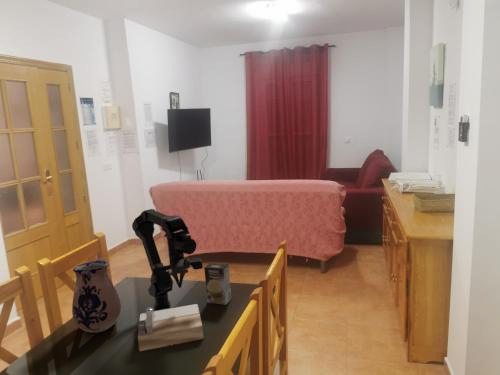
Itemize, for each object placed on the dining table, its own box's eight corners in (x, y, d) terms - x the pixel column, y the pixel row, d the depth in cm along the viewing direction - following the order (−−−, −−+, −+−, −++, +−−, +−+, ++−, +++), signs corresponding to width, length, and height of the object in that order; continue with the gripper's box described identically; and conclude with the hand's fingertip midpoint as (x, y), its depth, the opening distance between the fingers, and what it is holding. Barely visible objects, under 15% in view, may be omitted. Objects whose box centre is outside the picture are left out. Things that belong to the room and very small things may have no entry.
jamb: (141, 325, 149) (140, 313, 148) (198, 315, 154) (197, 303, 153) (140, 336, 141) (139, 323, 140) (200, 325, 146) (199, 312, 145)
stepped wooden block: (140, 337, 141) (138, 315, 139) (200, 325, 145) (198, 304, 144) (139, 351, 131) (136, 328, 130) (203, 338, 136) (201, 316, 135)
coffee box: (206, 303, 164) (203, 267, 161) (212, 296, 170) (209, 262, 167) (226, 305, 161) (223, 268, 158) (232, 298, 167) (229, 263, 164)
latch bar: (146, 315, 145) (145, 308, 145) (154, 314, 146) (153, 306, 145) (145, 334, 132) (144, 326, 131) (154, 332, 132) (153, 324, 132)
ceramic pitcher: (69, 342, 141) (58, 277, 137) (84, 315, 161) (75, 258, 157) (119, 335, 143) (110, 271, 139) (127, 309, 164) (120, 253, 160)
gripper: (150, 259, 138) (155, 300, 140) (202, 251, 142) (206, 291, 144) (151, 250, 149) (155, 288, 151) (199, 243, 153) (202, 280, 155)
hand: (180, 287), depth 150 cm, fingers closed
